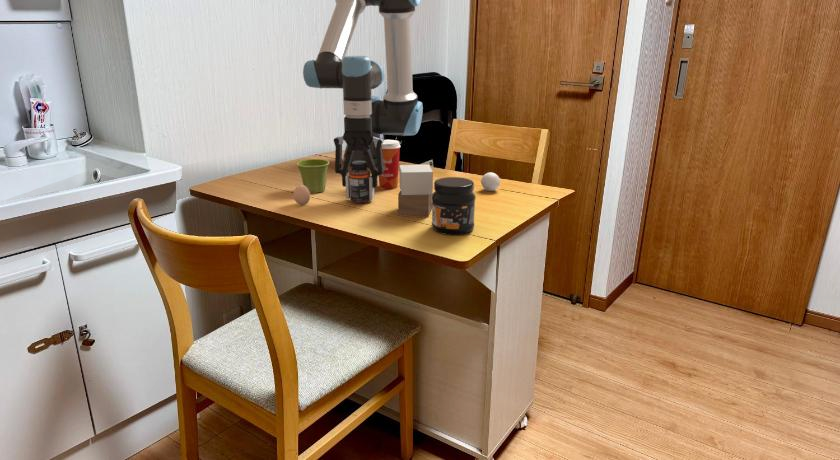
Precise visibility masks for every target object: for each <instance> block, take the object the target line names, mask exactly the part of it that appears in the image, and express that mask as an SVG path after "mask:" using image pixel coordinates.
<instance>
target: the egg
mask: <svg viewBox="0 0 840 460" xmlns="http://www.w3.org/2000/svg"><path fill="white" fill-rule="evenodd" d="M293 199H294V201H295V203H296V204H298V205H299V206H305V205H306V204H308V203H309V202H310V200H311V193H310V192H309V190H308V188H307V187H306V186H304V185H303V184H300V185H297V186H296V188H294V192H293Z"/></svg>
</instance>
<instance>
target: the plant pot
mask: <svg viewBox="0 0 840 460" xmlns="http://www.w3.org/2000/svg"><path fill="white" fill-rule="evenodd" d="M329 165H330V161H329V160H327V159H321V158H319V159H318V158H317V159H316V158H310V159H304V160H300V161H298V162H297V163H296V166H297V167H298V170H299V171H300V176H301V180H302V185H304V186H306V187H307V188H308V190H309V192H310V194H317V193H323V192H325V190H326V186H327V185H326V184H327V174H328V173H327V171H328V168H329V167H328V166H329Z"/></svg>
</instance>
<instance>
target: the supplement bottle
mask: <svg viewBox="0 0 840 460" xmlns="http://www.w3.org/2000/svg"><path fill="white" fill-rule="evenodd" d="M348 174H349V187H350V198H349V200H350V202H351V203H354V204H357V205H358V204H366V203H369V202H371V200H370V195H369V177H370V176H371V172H370V169H369V168H368V167H366V162H365V161H354V162H352V166H351V169H349V170H348Z"/></svg>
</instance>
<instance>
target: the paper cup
mask: <svg viewBox="0 0 840 460" xmlns="http://www.w3.org/2000/svg"><path fill="white" fill-rule="evenodd" d="M383 140H384V141H383V145H382V153H383V165H384V172H383V174H382V175H379V176H378V185H379V186H378V187H379V188H380V189H382V190H394V189H397V188H398V185H399V165H400V150H401V149H400V148H401V145H400V144H401V143H400V141H399V140H396V139H395V140H394V139H383ZM375 147H376V146H375Z"/></svg>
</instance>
